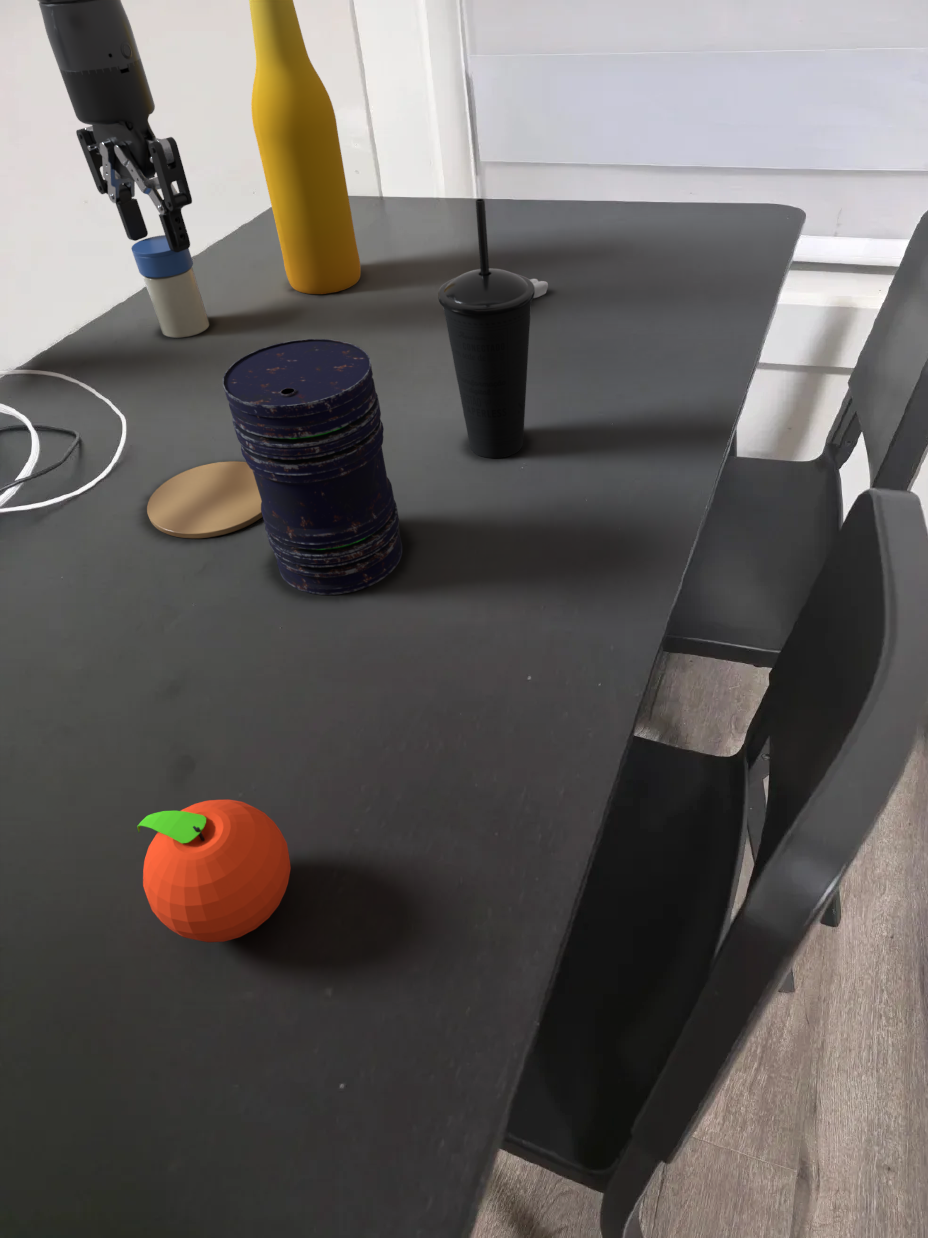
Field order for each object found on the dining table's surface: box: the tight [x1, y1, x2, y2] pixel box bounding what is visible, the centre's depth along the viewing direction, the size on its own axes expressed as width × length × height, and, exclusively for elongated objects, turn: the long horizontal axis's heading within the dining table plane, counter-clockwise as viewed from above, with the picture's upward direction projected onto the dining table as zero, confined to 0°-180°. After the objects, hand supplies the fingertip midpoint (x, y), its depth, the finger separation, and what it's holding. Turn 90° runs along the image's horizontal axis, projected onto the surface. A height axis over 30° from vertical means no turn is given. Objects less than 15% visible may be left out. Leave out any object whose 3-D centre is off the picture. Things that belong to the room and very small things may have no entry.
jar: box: [142, 266, 210, 339], centre depth 95 cm, size 5×5×9 cm
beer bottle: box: [248, 0, 362, 295], centre depth 96 cm, size 9×9×29 cm
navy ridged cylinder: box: [222, 338, 403, 596], centre depth 60 cm, size 10×10×15 cm
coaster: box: [146, 460, 263, 539], centre depth 72 cm, size 11×11×1 cm
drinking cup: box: [437, 198, 535, 459], centre depth 69 cm, size 8×8×20 cm
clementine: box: [136, 799, 291, 943], centre depth 42 cm, size 8×7×7 cm
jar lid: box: [131, 234, 194, 278], centre depth 93 cm, size 6×6×2 cm
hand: (159, 243), depth 92 cm, fingers open, 7 cm apart
